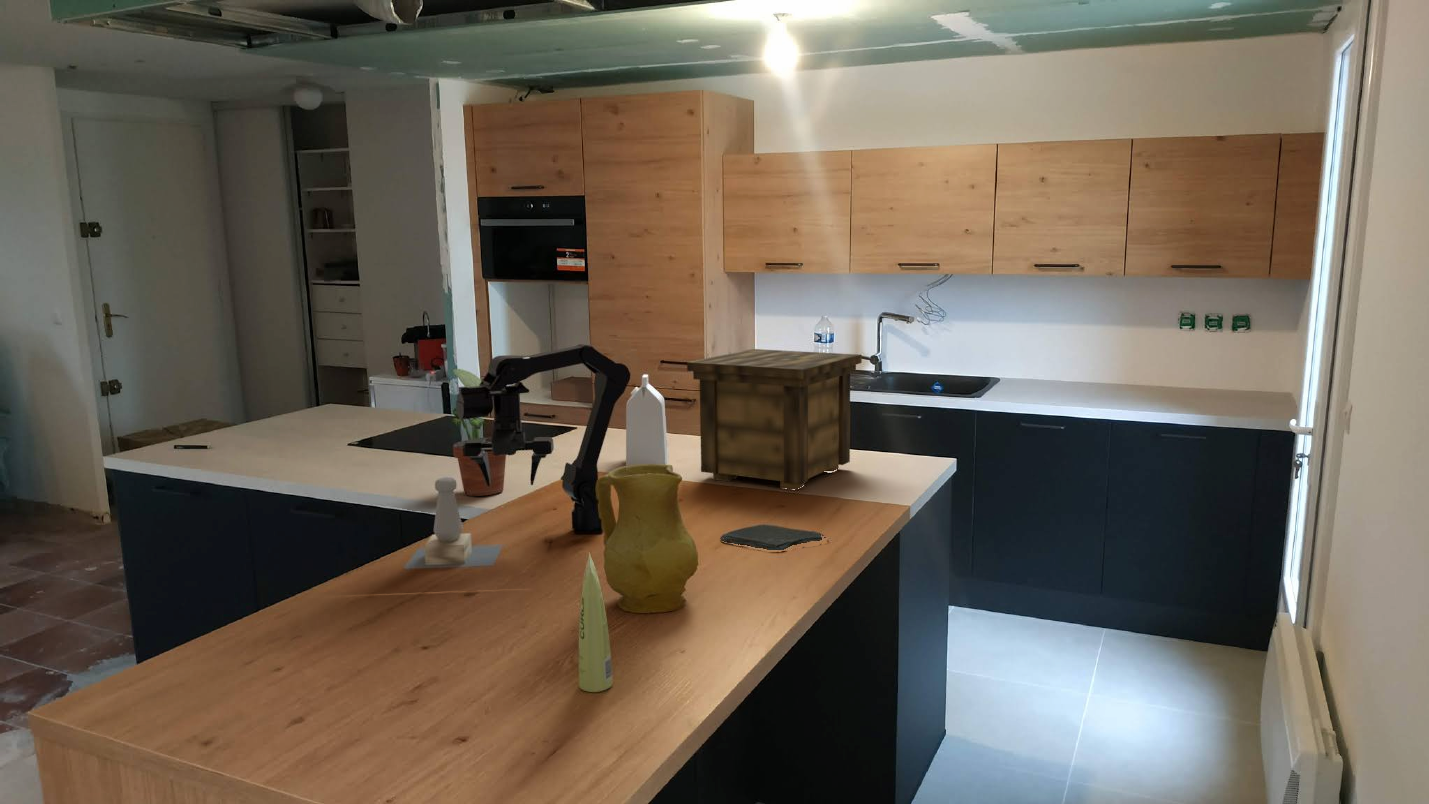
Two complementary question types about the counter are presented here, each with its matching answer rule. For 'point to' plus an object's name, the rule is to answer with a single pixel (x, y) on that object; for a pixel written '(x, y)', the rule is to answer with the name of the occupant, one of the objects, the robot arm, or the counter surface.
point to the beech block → (448, 550)
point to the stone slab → (770, 537)
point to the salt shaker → (447, 511)
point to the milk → (646, 426)
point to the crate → (774, 414)
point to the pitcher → (645, 538)
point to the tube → (593, 635)
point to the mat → (477, 558)
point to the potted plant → (469, 468)
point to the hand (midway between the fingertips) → (510, 485)
